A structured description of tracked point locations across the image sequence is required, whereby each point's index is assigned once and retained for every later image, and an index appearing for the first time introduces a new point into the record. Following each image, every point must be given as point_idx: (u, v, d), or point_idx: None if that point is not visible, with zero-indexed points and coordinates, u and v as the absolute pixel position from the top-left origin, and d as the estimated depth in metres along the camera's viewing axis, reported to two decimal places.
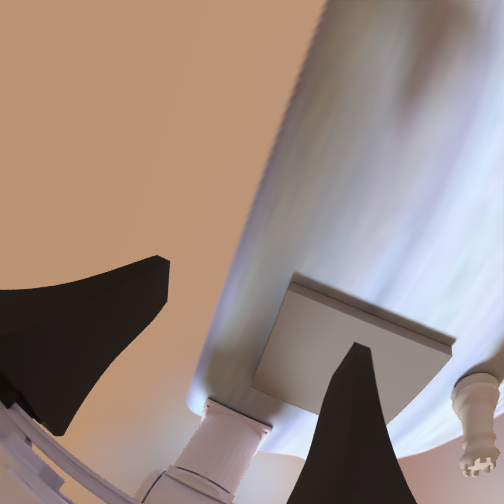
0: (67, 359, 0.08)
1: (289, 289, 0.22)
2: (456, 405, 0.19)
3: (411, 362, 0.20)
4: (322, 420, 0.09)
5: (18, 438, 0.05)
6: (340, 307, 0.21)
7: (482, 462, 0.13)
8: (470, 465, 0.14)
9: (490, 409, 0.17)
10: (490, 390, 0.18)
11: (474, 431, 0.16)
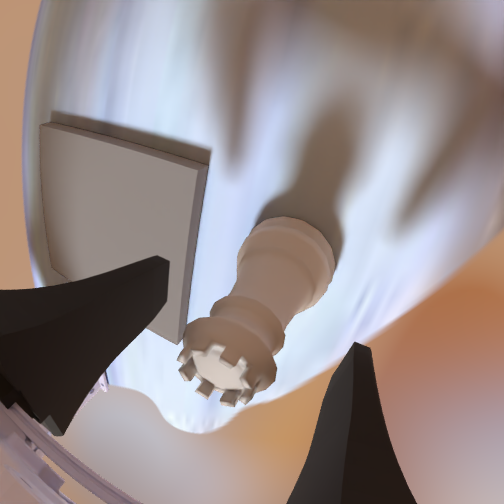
0: (67, 359, 0.08)
1: (41, 125, 0.17)
2: None
3: (150, 192, 0.16)
4: (322, 420, 0.09)
5: (18, 438, 0.05)
6: (75, 131, 0.16)
7: (197, 350, 0.09)
8: (187, 358, 0.09)
9: (281, 270, 0.12)
10: (289, 238, 0.13)
11: None
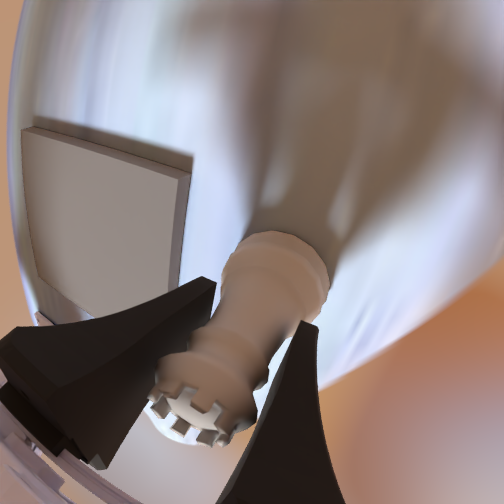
0: (118, 397, 0.07)
1: (23, 130, 0.16)
2: None
3: (130, 202, 0.14)
4: (267, 398, 0.10)
5: (18, 438, 0.05)
6: (55, 136, 0.15)
7: (166, 391, 0.07)
8: (158, 396, 0.08)
9: (267, 294, 0.11)
10: (277, 257, 0.12)
11: None
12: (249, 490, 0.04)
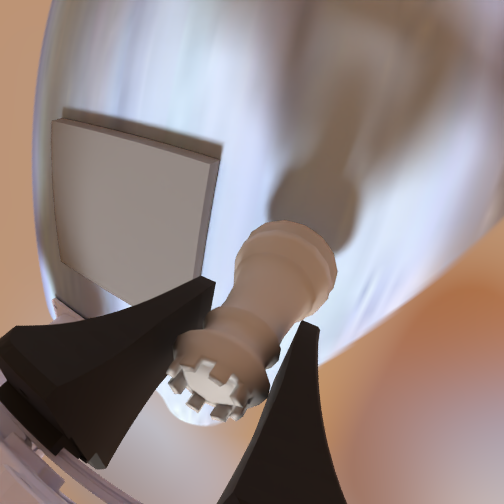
0: (117, 396, 0.07)
1: (53, 120, 0.18)
2: None
3: (163, 185, 0.16)
4: (268, 398, 0.10)
5: (18, 438, 0.05)
6: (88, 126, 0.17)
7: (185, 365, 0.08)
8: None
9: (279, 279, 0.11)
10: (289, 245, 0.12)
11: None
12: (251, 490, 0.04)
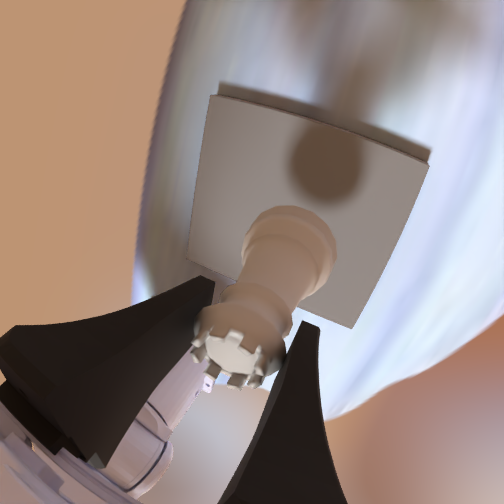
0: (117, 396, 0.07)
1: (212, 95, 0.18)
2: (243, 255, 0.15)
3: (375, 180, 0.16)
4: (269, 399, 0.10)
5: (18, 438, 0.05)
6: (270, 108, 0.17)
7: (216, 335, 0.09)
8: (200, 341, 0.10)
9: (292, 260, 0.12)
10: (300, 229, 0.13)
11: None
12: (252, 491, 0.04)
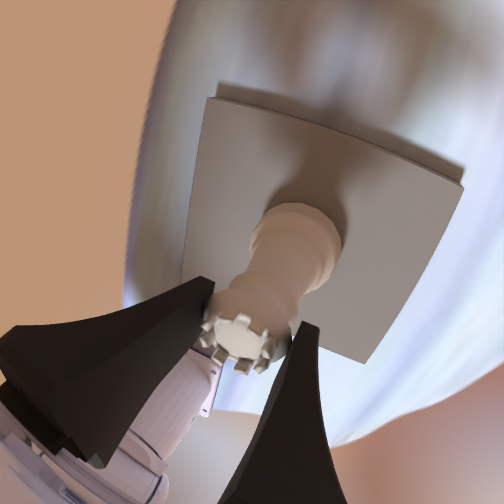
0: (117, 396, 0.07)
1: (210, 98, 0.15)
2: (250, 250, 0.15)
3: (402, 203, 0.14)
4: (268, 399, 0.10)
5: (18, 438, 0.05)
6: (279, 114, 0.14)
7: (225, 318, 0.10)
8: (210, 326, 0.10)
9: (298, 253, 0.13)
10: (306, 225, 0.14)
11: None
12: (252, 491, 0.04)
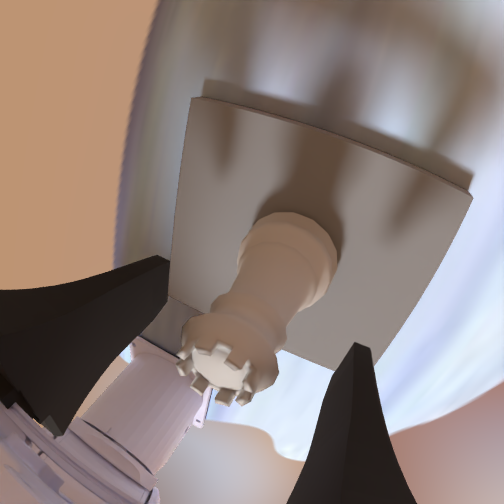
0: (67, 359, 0.08)
1: (194, 98, 0.14)
2: None
3: (404, 213, 0.12)
4: (322, 420, 0.09)
5: (18, 438, 0.05)
6: (269, 115, 0.13)
7: (201, 348, 0.08)
8: (186, 354, 0.09)
9: (288, 269, 0.12)
10: (298, 237, 0.13)
11: None
12: None
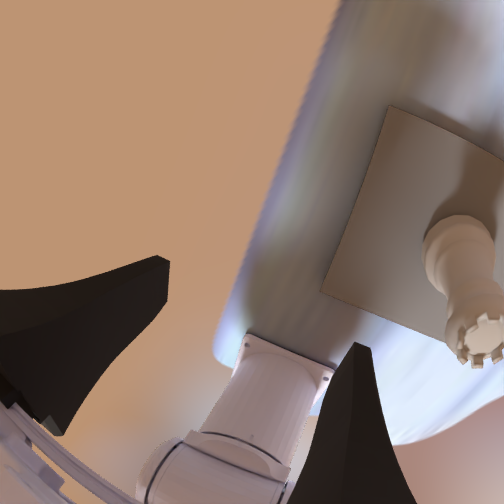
0: (67, 359, 0.08)
1: (391, 106, 0.14)
2: (431, 257, 0.15)
3: None
4: (322, 420, 0.09)
5: (18, 438, 0.05)
6: None
7: (493, 319, 0.09)
8: (469, 328, 0.09)
9: (486, 260, 0.12)
10: (483, 236, 0.13)
11: (466, 280, 0.11)
12: None
